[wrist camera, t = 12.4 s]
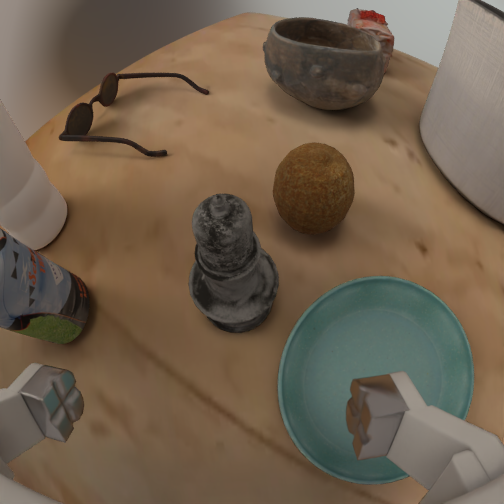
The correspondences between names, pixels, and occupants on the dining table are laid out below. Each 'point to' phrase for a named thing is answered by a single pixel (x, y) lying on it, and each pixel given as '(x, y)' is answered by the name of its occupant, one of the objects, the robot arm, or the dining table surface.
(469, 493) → the robot arm
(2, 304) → the beverage can
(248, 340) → the dining table surface
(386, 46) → the food item
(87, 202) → the dining table surface
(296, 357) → the saucer
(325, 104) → the bowl
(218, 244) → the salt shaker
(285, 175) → the fruit
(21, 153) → the water bottle
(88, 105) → the eyeglasses
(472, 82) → the planter
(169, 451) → the dining table surface
